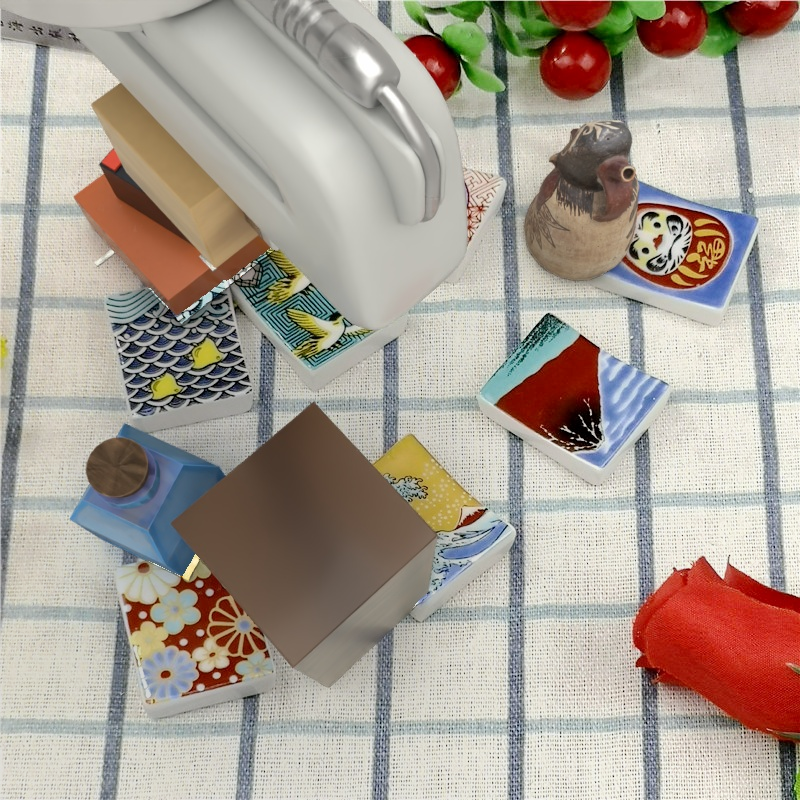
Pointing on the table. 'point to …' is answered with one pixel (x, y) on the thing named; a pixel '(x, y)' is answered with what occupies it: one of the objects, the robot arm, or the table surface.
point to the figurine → (586, 204)
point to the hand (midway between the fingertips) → (220, 160)
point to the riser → (313, 546)
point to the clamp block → (157, 249)
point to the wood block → (172, 178)
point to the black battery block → (134, 193)
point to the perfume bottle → (143, 495)
